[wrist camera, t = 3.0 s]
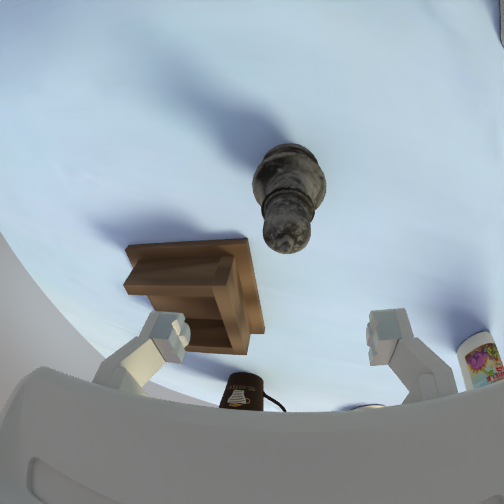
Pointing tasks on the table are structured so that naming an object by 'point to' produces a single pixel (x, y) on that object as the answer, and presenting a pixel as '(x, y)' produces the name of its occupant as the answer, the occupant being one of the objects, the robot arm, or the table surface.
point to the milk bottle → (480, 361)
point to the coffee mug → (245, 393)
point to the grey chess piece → (288, 196)
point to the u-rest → (201, 290)
